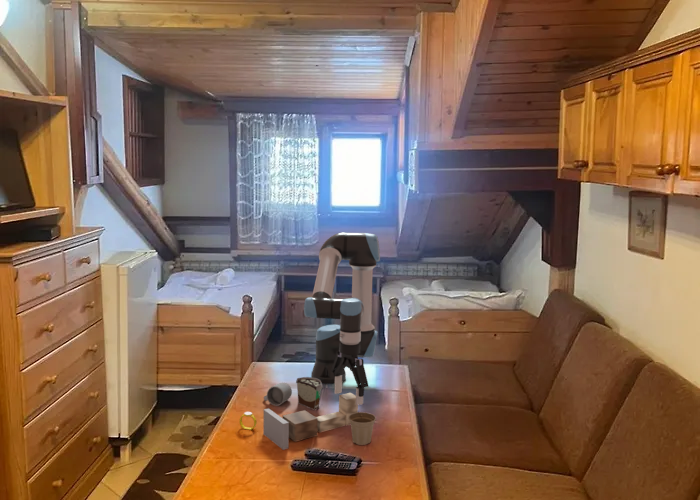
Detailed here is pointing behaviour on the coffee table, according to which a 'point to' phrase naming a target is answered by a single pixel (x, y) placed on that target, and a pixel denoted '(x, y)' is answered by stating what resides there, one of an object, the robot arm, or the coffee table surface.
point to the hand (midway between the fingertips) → (348, 398)
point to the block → (301, 425)
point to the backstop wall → (276, 429)
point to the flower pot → (361, 427)
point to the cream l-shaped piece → (339, 414)
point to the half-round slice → (309, 392)
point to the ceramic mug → (278, 394)
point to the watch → (248, 416)
